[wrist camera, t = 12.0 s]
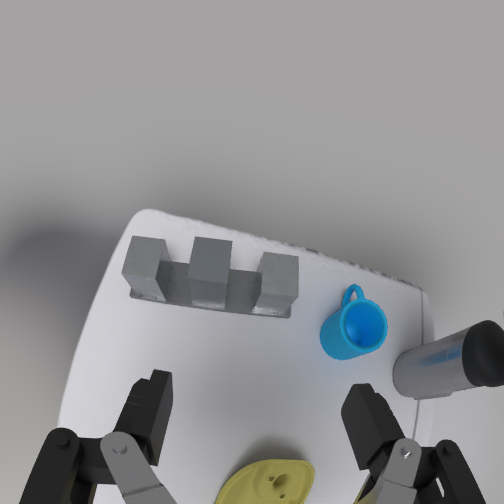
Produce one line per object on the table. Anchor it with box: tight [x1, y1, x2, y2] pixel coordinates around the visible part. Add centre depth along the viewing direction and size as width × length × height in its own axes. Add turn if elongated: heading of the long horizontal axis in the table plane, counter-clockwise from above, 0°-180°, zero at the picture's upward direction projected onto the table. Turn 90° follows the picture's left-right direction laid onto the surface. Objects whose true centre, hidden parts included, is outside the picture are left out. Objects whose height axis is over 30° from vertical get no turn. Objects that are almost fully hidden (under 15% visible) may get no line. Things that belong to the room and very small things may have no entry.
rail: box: [121, 236, 299, 318], centre depth 41 cm, size 26×7×9 cm, turn 86°
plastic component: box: [215, 459, 315, 504], centre depth 27 cm, size 20×7×10 cm
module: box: [187, 237, 232, 307], centre depth 40 cm, size 5×6×10 cm
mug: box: [320, 284, 388, 360], centre depth 41 cm, size 12×8×8 cm
